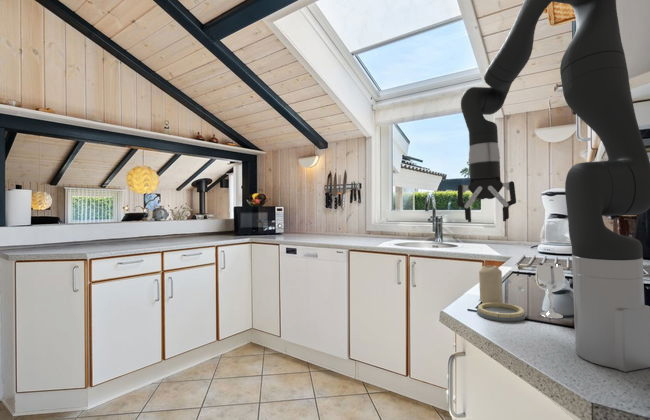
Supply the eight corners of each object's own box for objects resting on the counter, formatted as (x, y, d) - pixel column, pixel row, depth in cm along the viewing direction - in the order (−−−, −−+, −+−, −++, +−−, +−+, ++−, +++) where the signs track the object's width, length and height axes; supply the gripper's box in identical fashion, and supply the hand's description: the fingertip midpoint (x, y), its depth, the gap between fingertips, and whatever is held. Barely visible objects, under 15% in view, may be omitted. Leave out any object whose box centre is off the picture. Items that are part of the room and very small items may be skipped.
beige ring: (536, 318, 78) (536, 311, 78) (497, 324, 76) (496, 316, 76) (503, 306, 88) (503, 300, 88) (467, 310, 86) (467, 304, 86)
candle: (481, 304, 91) (480, 267, 91) (478, 299, 96) (477, 263, 96) (504, 305, 89) (503, 267, 89) (500, 300, 94) (499, 263, 94)
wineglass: (540, 318, 78) (538, 266, 78) (534, 311, 84) (532, 262, 84) (570, 320, 76) (568, 266, 76) (561, 312, 82) (559, 262, 82)
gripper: (513, 160, 92) (516, 220, 92) (457, 165, 99) (459, 221, 99) (514, 157, 86) (517, 221, 86) (454, 162, 92) (457, 223, 92)
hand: (486, 221), depth 92 cm, fingers open, 8 cm apart
